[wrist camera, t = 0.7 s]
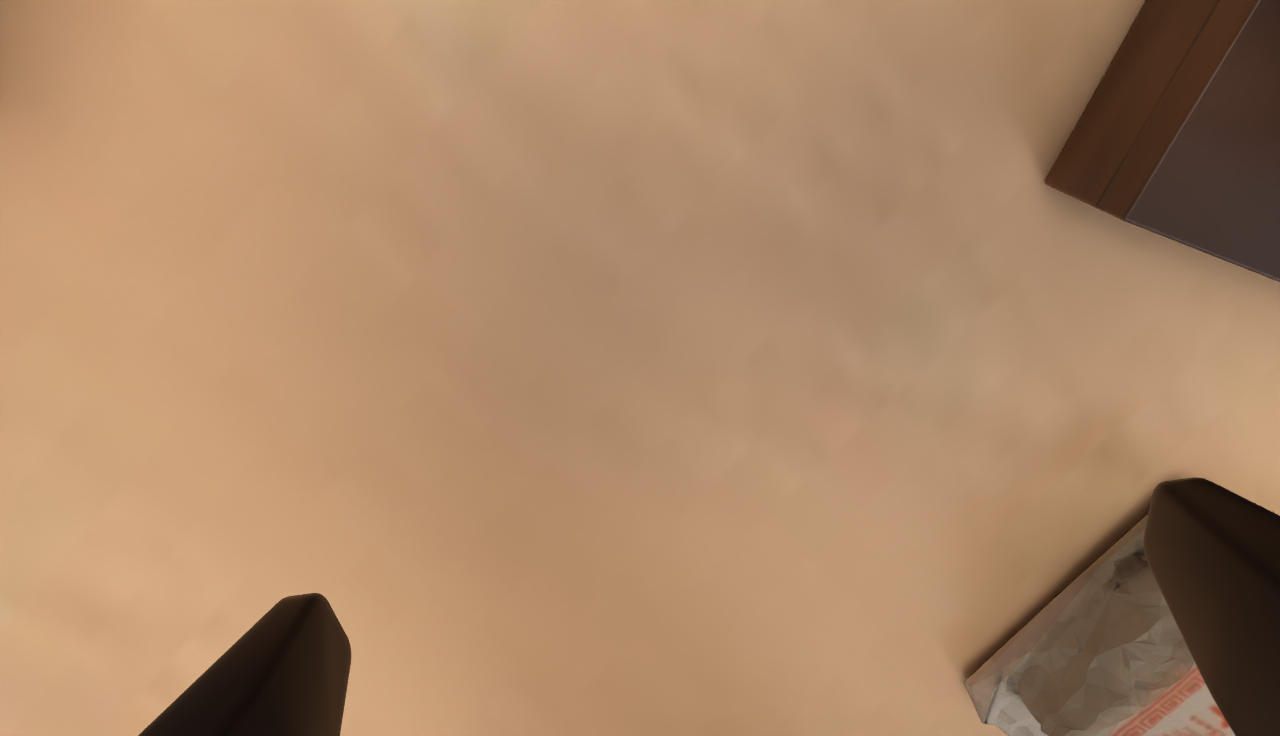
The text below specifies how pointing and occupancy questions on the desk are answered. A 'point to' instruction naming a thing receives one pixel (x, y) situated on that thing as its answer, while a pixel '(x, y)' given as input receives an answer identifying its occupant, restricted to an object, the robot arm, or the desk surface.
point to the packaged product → (1099, 661)
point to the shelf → (1189, 130)
